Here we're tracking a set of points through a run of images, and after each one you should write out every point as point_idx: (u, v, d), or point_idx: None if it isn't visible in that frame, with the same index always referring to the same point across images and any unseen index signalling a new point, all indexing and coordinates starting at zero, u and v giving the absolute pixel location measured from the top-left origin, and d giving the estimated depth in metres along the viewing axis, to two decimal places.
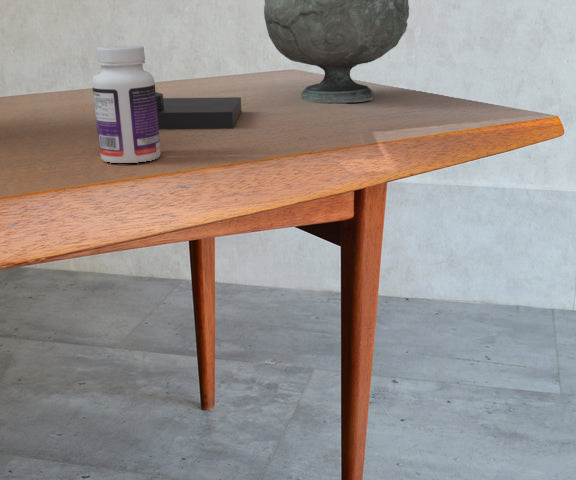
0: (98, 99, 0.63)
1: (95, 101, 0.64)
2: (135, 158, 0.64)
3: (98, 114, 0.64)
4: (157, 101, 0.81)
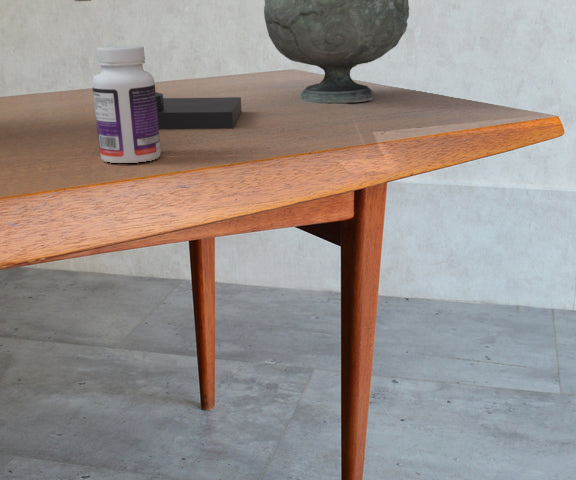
0: (98, 99, 0.63)
1: (95, 101, 0.64)
2: (135, 158, 0.64)
3: (98, 114, 0.64)
4: (157, 101, 0.81)
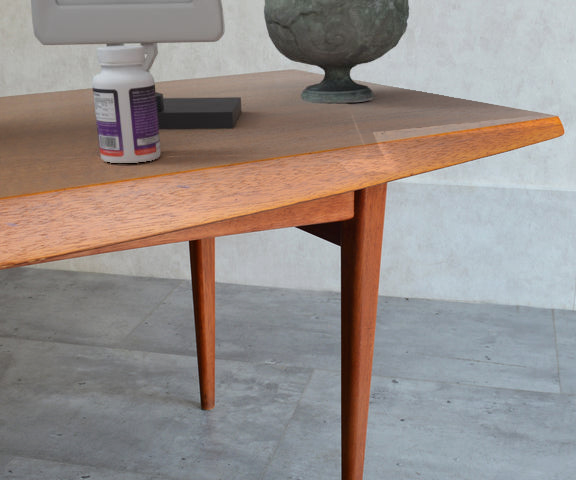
0: (98, 99, 0.63)
1: (95, 101, 0.64)
2: (135, 158, 0.64)
3: (98, 114, 0.64)
4: (157, 101, 0.81)
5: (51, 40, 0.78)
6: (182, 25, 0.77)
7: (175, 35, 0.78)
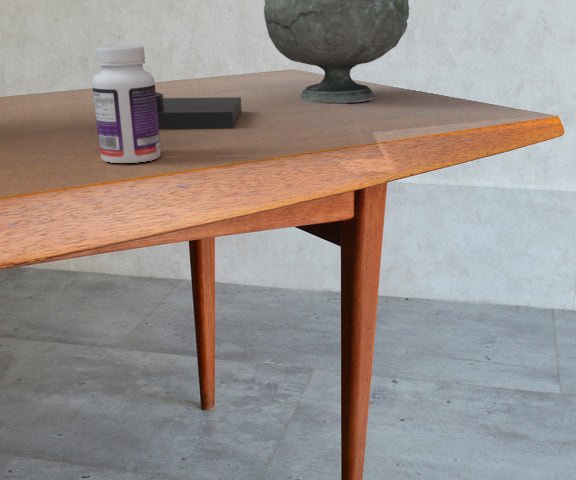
0: (98, 99, 0.63)
1: (95, 101, 0.64)
2: (135, 158, 0.64)
3: (98, 114, 0.64)
4: (157, 101, 0.81)
5: None
6: None
7: None
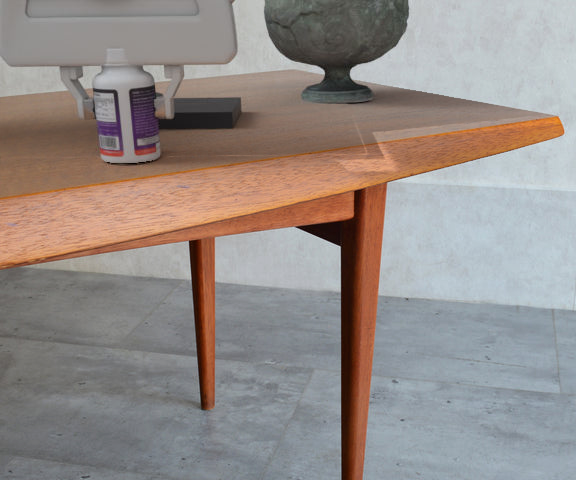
0: (98, 99, 0.63)
1: (95, 101, 0.64)
2: (136, 158, 0.64)
3: (98, 114, 0.64)
4: None
5: (19, 61, 0.62)
6: (184, 44, 0.61)
7: (176, 56, 0.62)
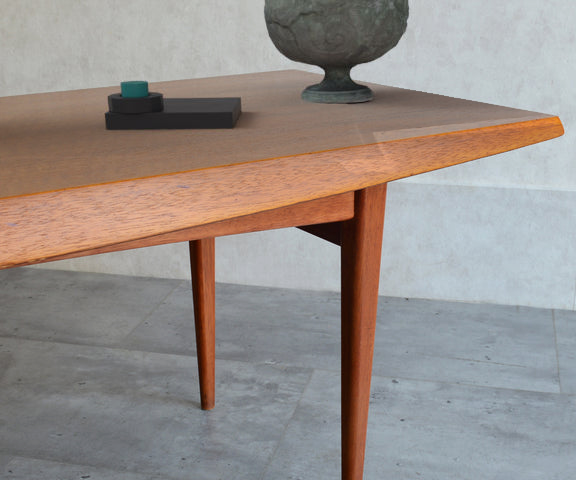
0: None
1: None
2: None
3: None
4: (157, 101, 0.81)
5: None
6: None
7: None
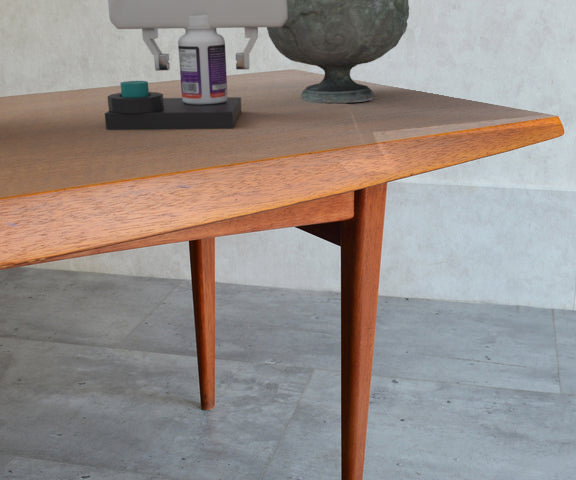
0: (183, 54, 0.83)
1: (180, 56, 0.84)
2: (210, 100, 0.85)
3: (183, 66, 0.84)
4: (157, 101, 0.81)
5: (125, 24, 0.83)
6: (250, 11, 0.82)
7: (243, 20, 0.82)
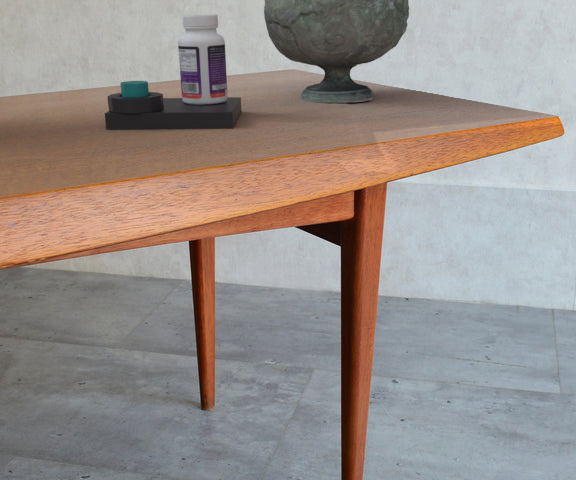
0: (183, 54, 0.83)
1: (180, 56, 0.84)
2: (210, 100, 0.85)
3: (183, 66, 0.84)
4: (157, 101, 0.81)
5: None
6: None
7: None
